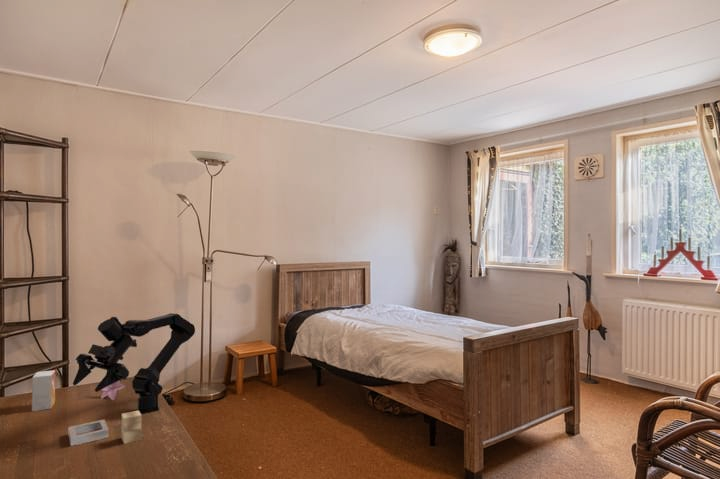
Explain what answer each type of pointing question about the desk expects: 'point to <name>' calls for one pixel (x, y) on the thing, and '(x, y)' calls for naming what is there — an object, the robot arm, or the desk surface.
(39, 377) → the small box
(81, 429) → the rectangular frame
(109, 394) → the lily
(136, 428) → the peg
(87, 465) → the desk surface
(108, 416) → the desk surface
